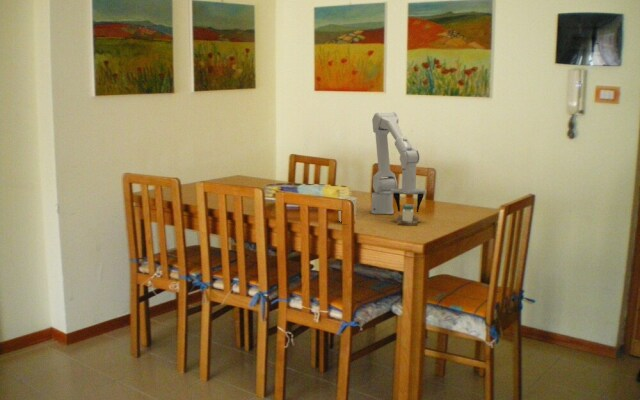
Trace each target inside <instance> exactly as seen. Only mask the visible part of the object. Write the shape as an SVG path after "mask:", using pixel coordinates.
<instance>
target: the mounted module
mask: <svg viewBox="0 0 640 400" xmlns="http://www.w3.org/2000/svg"><path fill="white" fill-rule="evenodd" d="M402 215H403V218H402V221H412V220H413V215H414V212H413V209H403V210H402Z"/></svg>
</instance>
